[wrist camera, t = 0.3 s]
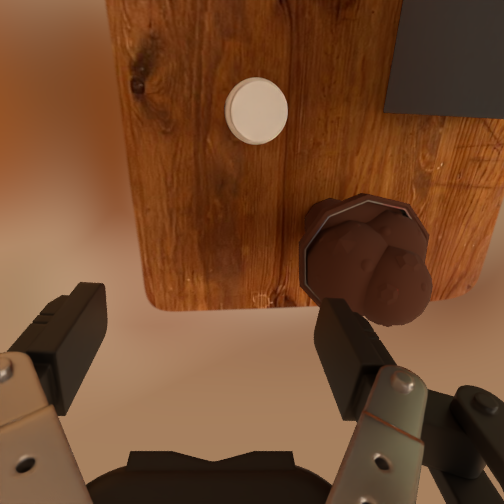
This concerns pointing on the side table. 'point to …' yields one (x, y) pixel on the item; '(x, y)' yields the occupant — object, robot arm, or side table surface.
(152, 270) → the side table surface
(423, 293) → the ice cream bowl
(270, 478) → the robot arm
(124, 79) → the side table surface
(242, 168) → the side table surface
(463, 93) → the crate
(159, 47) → the side table surface
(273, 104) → the pill bottle
